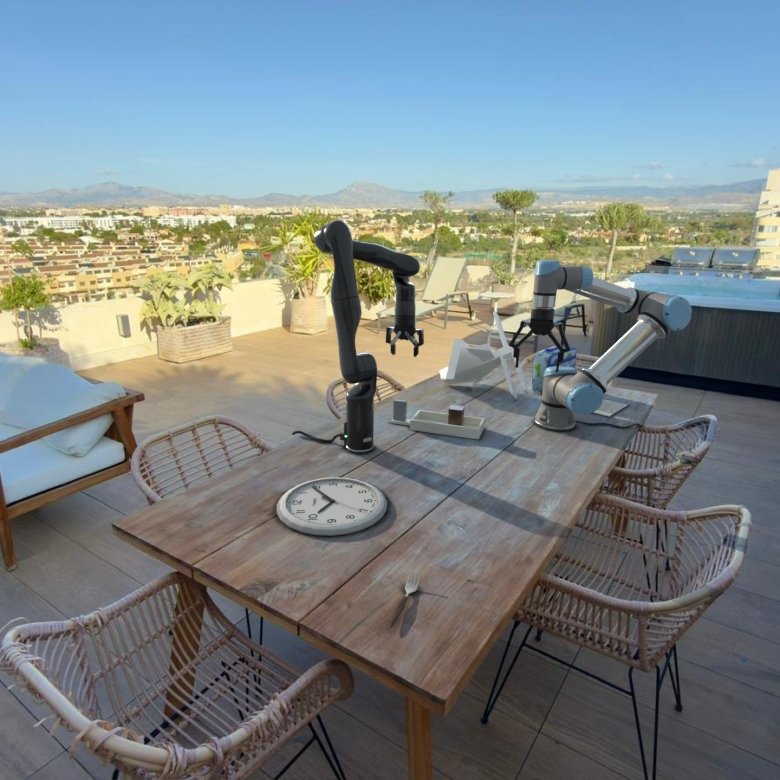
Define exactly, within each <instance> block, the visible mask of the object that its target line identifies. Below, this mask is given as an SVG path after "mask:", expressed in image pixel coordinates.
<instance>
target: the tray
mask: <svg viewBox="0 0 780 780" xmlns="http://www.w3.org/2000/svg"><path fill="white" fill-rule="evenodd" d="M392 405H393V406H392V407H393V408H392V419H391V420H390V424H394V425H403V426H409V430H410V431H415V432H423V433H431V434H437V435H444V436H451V437H458V438H465V439H466V438H467V439H472V440H480V438H481V436H482V434H483V432H484V430H485V422H486V418H484V417H477V416H469V415H464V422H463V426H457V425H450V424H448V414H449V413H445V412H438V411H432V410H431V411H430V410H422V409H418V410H417V412H416V413H415V414H414V415H413V416H412V417H411V418H410V419H409V418H407V414H408V412H407V411H408V400H403V399H394V400H393V404H392Z"/></svg>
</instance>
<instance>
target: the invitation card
mask: <svg viewBox="0 0 780 780" xmlns="http://www.w3.org/2000/svg"><path fill="white" fill-rule="evenodd" d="M628 406H629V404H627V403H623V402H618V401H614V400H609V399H605V398H604V399H603V400H602V404H601V406H600V407H599V408H598V409H597V410H596V411H595V412H593V413H592V414H596V415H600V416H604V417H608V418H609V417H611V416H613V415H614V414H616V413H617V412H619V411H621V410H623V409H624V408H626V407H628Z"/></svg>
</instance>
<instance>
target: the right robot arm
mask: <svg viewBox="0 0 780 780" xmlns="http://www.w3.org/2000/svg"><path fill="white" fill-rule="evenodd" d="M592 269H593V268H591V267H590V266H583V265H581V266H575V265H569V264H568V265H566V264H561V263H560V261H559V260H557V259H556V260H554V259H540V260H538V261H537V262H536V264H535V268H534V274H533V275H534V280H533V289H532V290H533V292H532V297H531V298H532V300H531V307H532V308H530V309H531V310H530V320H529V321H527V320H525V319H522V320H521V321H520V323H519V327H518V329H517V330H516V332H515V334H514V335H513V337H512V338H511V340H510V342H509V343H508V345H509V346H510V347H512V348H513V349H514V352H513V357H514V358H516V366H515V365H514V366H515V369H516V368H518V364H519V362H520V353H521V347H520V346H522V345H523V343H524V342H526V341H527V340H528V339H529V338H530V337H531V336H532V335H535V336H542V337H545V336H548V338H550V340H551V341H552V342H553V344H554V346H557V348H558V349H559V351H558V358H557V367H548V368H547V369H546V370H545V373H544V382H543V391H542V394H541V402H540V405H539V407H538V410H537V411H536V413H535V417H534V424H535V425H536V426H537V427H539V428H542V429H544V430H549V431H556V432H567V431H572V430H574V429H575V428H576V423H577V424H582V425H585V426H599V425H600V426H601V425H604V426H610V427H612V428H613V427H614V428H619V429H629V428H632V427H635V426H638V427H639V428H643V426H642V425H641V424H640V423H636V422H635V423H633V424H630V425H627V426H626V425H625V426H624V425H623V426H622V425H617V424H613V423H608V422H585V421H580V420H577V419H576V418H575V417H576V416H575V414H578V415H583V416H585V415H590V414H594V413H593V412H595V411H596V410H597V409H598V408H599V407H600V406H601V404H602V400H603V399H605V397H604V395H605V394H606V393H607V392H608V385H609V384H611V382H612V381H613V380H614V379H615V378H617V377H618V376H619V375H620V374H621V373H622V372H623V371H624V370H625V369H626V368H627V367H628V366H629V365H630V364H632V362H634V360H636V359H637V358H638V357H639V356H640V355H641V354H642V353H643V352H644V351H645V350H646V349H647V348H648V347H649V346H650V345H652V344H653V342H655V341H656V340H657V339H664V338H666V337H667V335H669V334H670V333H671V332H679V331H682V330H683V329H685V328H686V327H687V326H688V324H689V323H690V321H691V319H692V312H693V311H692V305H691V303H690V302H689V301H688V299H687V298H685V297H683V296H680V295H677V294H666V293H664V292H658V291H651V290H643V289H638V288H635V287H630V286H629V287H623V286H620V285H617V284H615V283H612V282H609V281H607V280H604V279H601V278H598V277H595V276H594V271H593V270H592ZM559 290H561V291H562V290H565V291H567V292H571V293H574V294H576V295H578V296H582V297H585V298H587V299H590V300H594V301H597V302H599V303H602V304H604V305H608V306H611V307H612V308H613V307H614V308H616V309H617V311H618V312H619V313H622V314H624V315H627V316H629V317H631V318H634V319H636V320H637V322H636V323H635V324H634V325H633V326H632V327H631V328H630V329H628V330H627V332H626V333H625V334H623V335H622V337H620V338H619V339H618V340H617V341H616V342H614V344H613V345H612V346H611V347H610V348H609V349H607V351H605V352H604V353H603V354H602V355H601V356H600V357H599V358H598V359H597V360H596V361H595V362H594V363H593V364H592V365H591V366H590V367H589V368H581V369H580V370H579V371H578V369H577V368H576V367H575V368H572V367H560V366H559V362H563V358H564V353H565V352H569V351H570V347H571V346H570V344H569V341H568V339H567V337H566V334H565V331H564V328H563V327H564V325H563V324H564V323H563V322H559V323H555V321H554V318H555V307H556V300H557V293H558V291H559ZM527 326H528V327H529V330H528V332H527V333H525V335H524V336H522V337H521V338H520V339H519V340H518V337H519V336H520V334H521V332H522V331H523V329H525V328H526V327H527ZM554 328H555V329H556V330H557V331H558V333H559V335H560V339H561V341H562V344H563V345H562V344H561V343H560V341H559V340H558V338H557V337H556V336H555V334H554V333H553V331H552V330H553V329H554ZM517 340H518V342H516V341H517ZM515 342H516V343H515ZM562 346H565V348H563V347H562Z"/></svg>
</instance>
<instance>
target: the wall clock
mask: <svg viewBox="0 0 780 780" xmlns="http://www.w3.org/2000/svg"><path fill="white" fill-rule="evenodd" d="M387 509H388V500H387V498H386V496H385V494H384V493H383V492H382V491H381V490H380V489H379V488H377V487H376V486H374V485H372V484H371V483H369V482H365V481H362V480H359V479H355V478H349V477H338V476H337V477H335V476H333V477H332V476H331V477H322V478H317V479H312V480H307V481H305V482H302V483H299V484H297V485H295V486H293V487H292V488H290V489H288V490H287V491H286V492H285V493H284V494H283V495H281V496H280V498H279V499H278V502H277V503H276V515H277V517H278V518H279V520H280V521H281V522H282V523H283V524H285V525H286V526H287V527H288V528H290V529H293V530H295V531H297V532H299V533H303V534H308V535H312V536H327V537H328V536H329V537H331V536H332V537H333V536H342V535H350V534H352V533H356V532H361V531H363V530H366V529H368V528H369V527H372V526H373V525H375V524H376V523H378V522H379V521H380V520H381V519H382V518H383V517H384V516H385V514H386V512H387Z"/></svg>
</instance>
